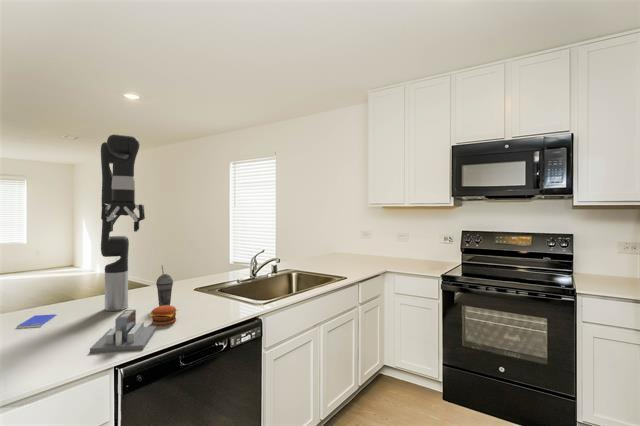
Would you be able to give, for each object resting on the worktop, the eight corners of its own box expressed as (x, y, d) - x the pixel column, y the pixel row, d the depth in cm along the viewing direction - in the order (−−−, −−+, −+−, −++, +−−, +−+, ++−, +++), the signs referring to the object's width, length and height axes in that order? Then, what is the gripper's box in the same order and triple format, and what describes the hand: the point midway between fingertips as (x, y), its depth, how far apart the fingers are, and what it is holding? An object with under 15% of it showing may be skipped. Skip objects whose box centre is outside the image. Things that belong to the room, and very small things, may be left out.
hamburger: (156, 318, 146) (156, 303, 146) (179, 318, 147) (179, 302, 147) (147, 326, 137) (147, 309, 137) (172, 326, 138) (172, 309, 138)
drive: (125, 331, 127) (125, 309, 127) (135, 330, 128) (135, 309, 128) (115, 342, 117) (115, 318, 117) (126, 341, 118) (126, 318, 118)
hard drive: (41, 324, 134) (56, 314, 146) (16, 325, 132) (33, 315, 144) (41, 328, 134) (56, 317, 146) (16, 329, 132) (33, 319, 144)
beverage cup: (172, 309, 159) (173, 266, 158) (155, 310, 156) (155, 266, 155) (173, 304, 165) (173, 263, 165) (156, 306, 163) (156, 264, 162)
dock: (110, 332, 130) (110, 316, 129) (156, 329, 133) (156, 314, 133) (89, 353, 112) (89, 334, 112) (143, 349, 116) (143, 331, 115)
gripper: (146, 189, 135) (146, 230, 136) (106, 188, 132) (106, 230, 132) (141, 188, 128) (141, 232, 128) (98, 187, 125) (98, 232, 125)
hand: (123, 231), depth 130 cm, fingers open, 8 cm apart
